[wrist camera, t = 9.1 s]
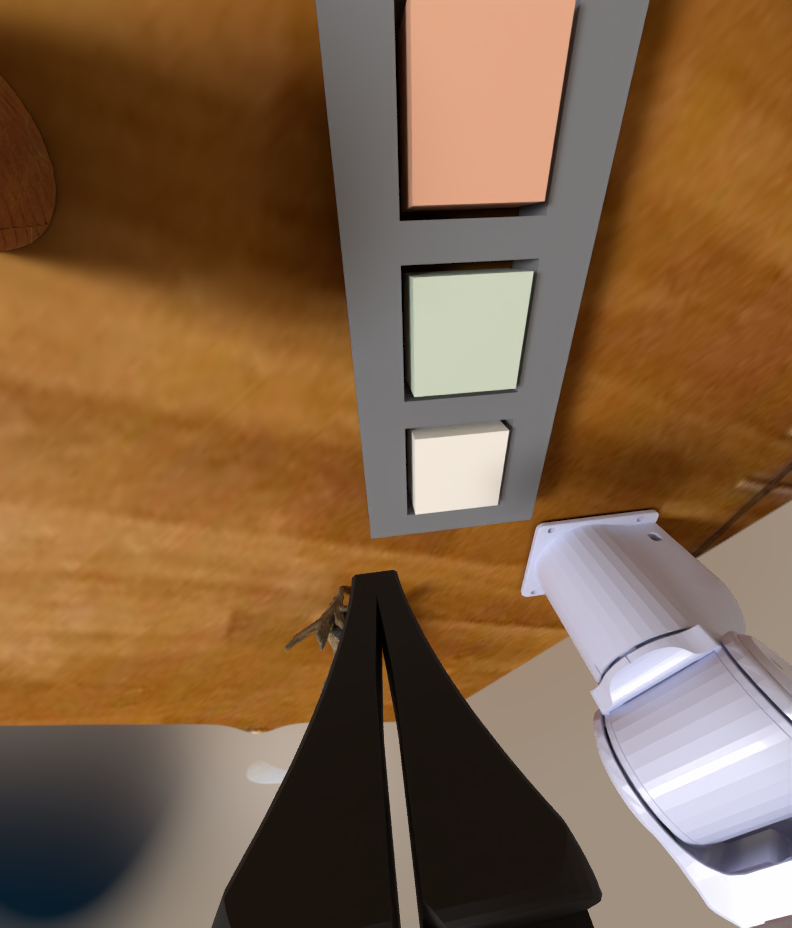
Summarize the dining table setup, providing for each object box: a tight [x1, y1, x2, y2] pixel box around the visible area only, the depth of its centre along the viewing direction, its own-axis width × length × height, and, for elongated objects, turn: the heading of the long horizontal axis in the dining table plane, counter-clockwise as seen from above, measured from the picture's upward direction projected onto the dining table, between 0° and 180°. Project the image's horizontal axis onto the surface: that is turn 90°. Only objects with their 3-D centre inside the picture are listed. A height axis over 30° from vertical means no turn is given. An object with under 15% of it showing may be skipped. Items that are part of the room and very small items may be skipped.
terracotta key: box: [398, 0, 576, 212], centre depth 12 cm, size 5×5×3 cm
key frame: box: [316, 0, 649, 539], centre depth 16 cm, size 10×23×2 cm, turn 2°
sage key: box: [403, 268, 534, 397], centre depth 16 cm, size 5×5×3 cm
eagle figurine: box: [285, 586, 348, 690], centre depth 26 cm, size 8×7×9 cm
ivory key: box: [407, 420, 509, 515], centre depth 20 cm, size 5×5×3 cm
